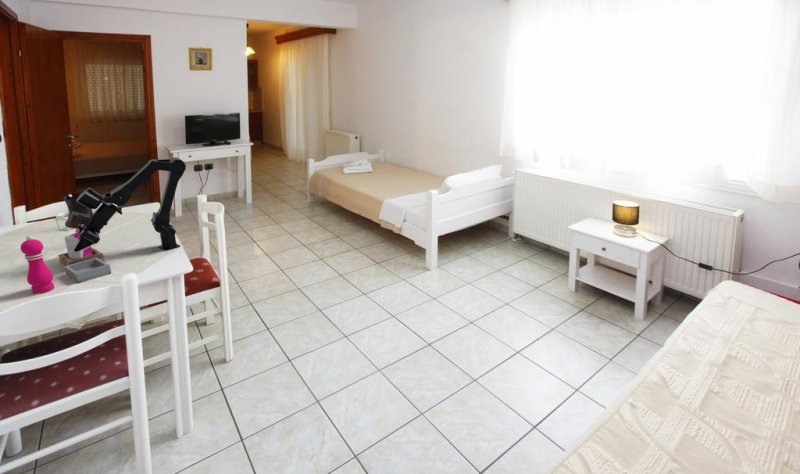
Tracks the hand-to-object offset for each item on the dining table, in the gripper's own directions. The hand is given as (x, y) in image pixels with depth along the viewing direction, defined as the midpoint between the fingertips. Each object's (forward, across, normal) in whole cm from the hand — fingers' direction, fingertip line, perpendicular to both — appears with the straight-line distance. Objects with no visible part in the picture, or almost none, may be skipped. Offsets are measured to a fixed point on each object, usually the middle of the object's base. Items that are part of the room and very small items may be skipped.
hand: (74, 247), depth 179 cm
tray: (+3, +14, +7) cm, 16 cm away
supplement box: (+4, 0, +6) cm, 7 cm away
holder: (+4, 0, +6) cm, 7 cm away
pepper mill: (+12, +21, -3) cm, 24 cm away
